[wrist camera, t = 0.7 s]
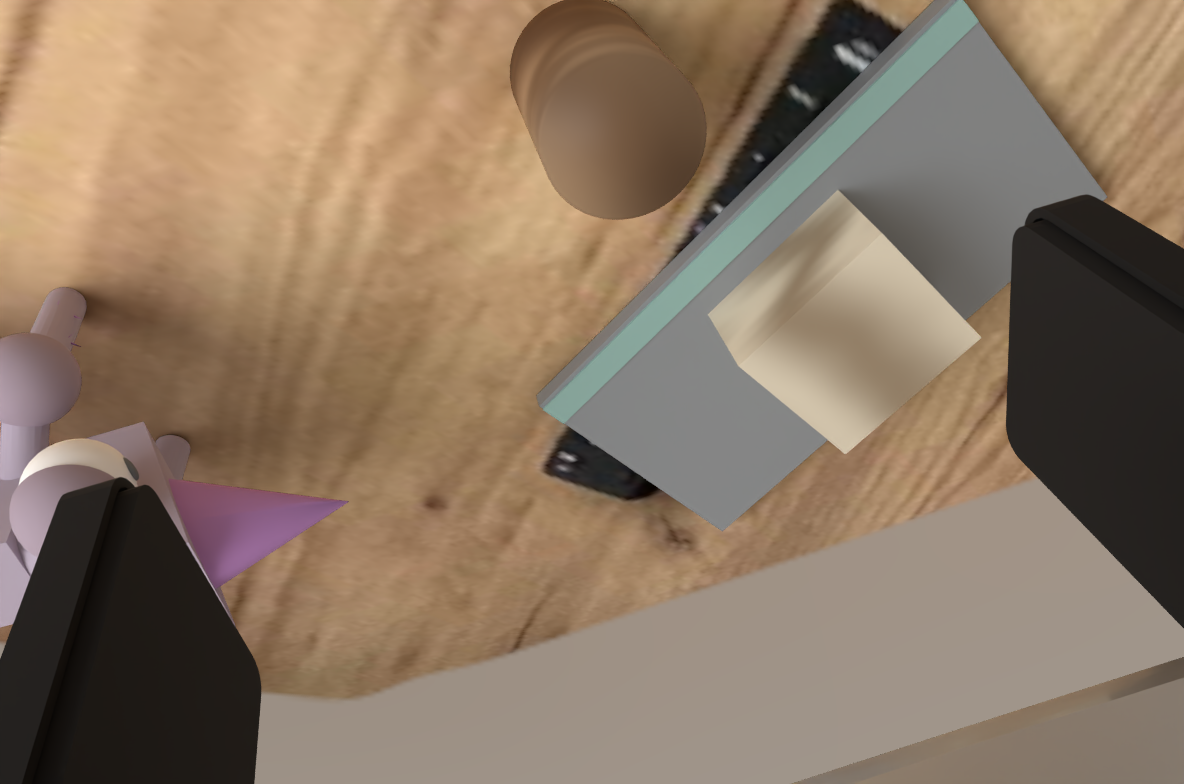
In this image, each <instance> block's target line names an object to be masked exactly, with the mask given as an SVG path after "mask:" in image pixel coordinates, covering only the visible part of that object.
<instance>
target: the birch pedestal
mask: <svg viewBox="0 0 1184 784" xmlns="http://www.w3.org/2000/svg"><path fill="white" fill-rule="evenodd" d="M708 316H709V317H710V319H711V321H712V322H713V324H714V326H715V327H716V329H717V331H718V333H719V334H720V336H721V338H722V339H723V341H724V343H725V344H726V346H727V348H728V349H729V351H730V353H731V354H732V356H733V358H734V360H735V361H736V363H737V365H738V366H739V367H740V368H741V369H742V370H744V371H745V372H746V373H747V374H748V375H750V376H751V377H752V378H753V379H755V380H756V381H757V382H758V383H759V384H761V385H762V386H763V387H764V388H765V389H767V390H768V391H769V392H770V393H772V394H773V395H774V396H775V397H776V398H778V399H779V400H780V401H781V402H782V403H784V404H785V405H786V406H787V407H789V408H790V409H791V410H792V411H793V412H795V413H796V414H797V415H798V416H799V417H801V418H802V419H803V420H804V421H806V422H807V423H808V424H809V425H810V426H812V427H813V428H814V429H815V430H816V431H818V432H819V433H820V434H821V435H823V436H824V437H825V438H826V439H827V440H829V441H830V442H831V443H832V444H833V445H835V446H836V447H837V448H838V449H840V450H841V451H842V452H843V453H844V454H846V453H848V452H849V451H850V450H851V449H852V448H853V447H855V446H856V445H857V444H858V443H859V442H860V441H862V440H863V439H864V438H865V437H866V436H867V435H869V434H870V433H871V432H872V431H873V430H874V429H876V428H877V427H878V426H879V425H880V424H881V423H883V422H884V421H885V420H886V419H887V418H888V417H890V416H891V415H892V414H893V413H894V412H895V411H897V410H898V409H899V408H900V407H901V406H902V405H904V404H905V403H906V402H907V401H908V400H909V399H911V398H912V397H913V396H914V395H915V394H916V393H918V392H919V391H920V390H921V389H922V388H923V387H925V386H926V385H927V384H928V383H929V382H930V381H932V380H933V379H934V378H935V377H936V376H937V375H939V374H940V373H941V372H942V371H943V370H944V369H946V368H947V367H948V366H949V365H950V364H951V363H953V362H954V361H955V360H956V359H957V358H958V357H960V356H961V355H962V354H963V353H964V352H965V351H967V350H968V349H969V348H970V347H971V346H972V345H974V344H975V343H976V342H977V341H978V340H979V339H981V337H980V336H979V334H978V333H977V332H976V331H975V330H974V329H973V328H972V327H971V326H970V325H969V324H968V323H967V322H966V321H965V320H964V319H963V318H962V317H961V316H960V315H959V313H958V312H957V311H956V310H955V309H954V308H953V307H952V306H951V305H950V304H949V303H948V302H947V301H946V300H945V299H944V298H943V297H942V296H941V295H940V294H939V292H938V291H937V290H936V289H935V288H934V287H933V286H932V285H931V284H930V283H929V282H928V281H927V280H926V279H925V278H924V277H923V276H922V275H921V274H920V273H919V271H918V270H917V269H916V268H915V267H914V266H913V265H912V264H911V263H910V262H909V261H908V260H907V259H906V258H905V257H904V256H903V255H902V254H901V253H900V252H899V250H898V249H897V248H896V247H895V246H894V245H893V244H892V243H891V242H890V241H889V240H888V239H887V238H886V237H885V236H884V235H883V234H882V233H881V232H880V231H879V230H878V229H877V228H876V227H875V226H874V225H873V224H872V223H871V222H870V221H869V220H868V219H867V218H866V217H865V216H864V215H863V214H862V213H861V212H860V211H859V210H858V209H857V208H856V207H855V206H854V205H853V204H852V203H851V202H850V201H849V200H848V199H847V198H846V197H845V196H844V195H843V194H842V193H841V192H840V191H839V190H837V191H836V192H835V193H834V194H833V195H832V196H831V197H830V198H829V199H828V200H827V201H826V202H824V203H823V204H822V205H821V206H820V207H819V208H818V209H817V210H816V211H815V212H814V213H813V214H812V215H811V216H810V217H809V218H808V219H807V220H806V221H805V222H804V223H803V224H802V225H800V226H799V227H798V228H797V229H796V230H795V231H794V232H793V233H792V234H791V235H790V236H789V237H788V238H787V239H786V240H785V241H784V242H783V243H782V244H781V245H780V246H779V247H778V248H776V249H775V250H774V251H773V252H772V253H771V254H770V255H769V256H768V257H767V258H766V259H765V260H764V261H763V262H762V263H761V264H760V265H759V266H758V267H757V268H756V269H755V270H754V271H752V272H751V273H750V274H749V275H748V276H747V277H746V278H745V279H744V280H743V281H742V282H741V283H740V284H739V285H738V286H737V287H736V288H735V289H734V290H733V291H732V292H731V293H730V294H728V295H727V296H726V297H725V298H724V299H723V300H722V301H721V302H720V303H719V304H718V305H717V306H716V307H715V308H714V309H713V310H712V311H711V312H710V313H709V314H708Z"/></svg>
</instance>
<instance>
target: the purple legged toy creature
mask: <svg viewBox="0 0 1184 784" xmlns="http://www.w3.org/2000/svg"><path fill="white" fill-rule="evenodd" d="M86 309H87V305H86V301H85V299H84V297H83V296H82V295H81V294H80V293H79V292H78V291H76V290H74V289H71V288H67V287H60V288H57V289H54V290H53V291H51V292H50V293H49V294H48V295H47V297H46V299H45V301H44V303H43V305H42V307H41V309H40V312H39V314H38V316H37V318H36V320H35V322H34V325H33V327H32V329H31V331H30V333H18V334H12V335H9V336H6V337H3V338H1V339H0V422H1V437H0V627H3V626H7V625H11V624H13V623H14V620H15V618H16V615H17V612H18V610H19V607H20V604H21V601H22V599H23V596H24V593H25V591H26V588H27V585H28V582H29V580H30V577H31V574H32V572H33V569H34V566H35V563H36V561H37V558H38V555H39V553H40V550H41V547H42V544H43V542H44V539H45V536H46V534H47V531H48V528H49V525H50V523H51V520H52V517H53V515H54V512H55V509H56V506H57V504H58V501H59V500H60V498H61V496H62V495H63V494H65V493H67V492H70V491H74V490H77V489H81V488H84V487H87V486H91V485H94V484H98V483H101V482H105V481H108V480H111V479H115V478H118V477H123V478H126V479H128V480H129V481H130V482H131V483H132V484H133V485H134V486H135V487H138V486H141V485H149V486H150V487H151V488H152V489H154V491H155V492H156V494H157V495H158V497H159V498H160V500H161V502H162V503H163V505H164V507H165V508H166V510H167V512H168V513H169V515H170V517H171V519H172V520H173V522H174V524H175V525H176V527H177V529H178V530H179V532H180V534H181V536H182V537H183V539H184V541H185V542H186V544H187V546H188V547H189V549H190V551H191V552H192V554H193V556H194V558H195V559H196V561H197V563H198V564H199V566H200V568H201V569H202V571H203V573H204V574H205V576H206V578H207V580H208V581H209V583H210V585H211V586H212V588H213V590H214V591H215V593H216V595H217V596H218V598H219V600H220V602H221V603H222V605H223V607H224V608H225V610H226V612H227V613H228V615H229V617H230V619H231V620H232V622H233V624H234V621H233V618H232V616H231V613H230V611H229V608H228V606H227V603H226V601H225V598H224V595H223V593H222V590H221V588H220V586H221V585H223V584H224V583H226V582H227V581H229V580H230V579H232V578H233V577H235V576H237V575H238V574H240V573H241V572H243V571H244V570H246V569H247V568H249V567H250V566H252V565H253V564H255V563H256V562H258V561H259V560H261V559H262V558H264V557H265V556H267V555H268V554H270V553H271V552H273V551H275V550H276V549H278V548H279V547H281V546H282V545H284V544H285V543H287V542H288V541H290V540H291V539H293V538H294V537H296V536H297V535H299V534H300V533H302V532H303V531H305V530H306V529H308V528H309V527H311V526H313V525H314V524H316V523H317V522H319V521H320V520H322V519H323V518H325V517H326V516H328V515H329V514H331V513H332V512H334V511H335V510H337V509H338V508H340V507H341V506H343V505H344V504H346V503H348V502H349V501H341V500H334V499H326V498H318V497H310V496H302V495H294V494H286V493H278V492H270V491H262V490H255V489H247V488H239V487H231V486H223V485H215V484H207V483H199V482H191V481H183V480H182V479H183V475H184V471H185V468H186V464H187V461H188V457H189V454H190V450H191V449H190V445H189V443H188V442H187V441H186V440H185V439H183V438H181V437H178V436H175V435H165V436H162V437H159V438H158V439H157V440H156V442H155V441H154V440H153V438H152V436H151V434H150V432H149V430H148V429H147V427H146V425H145V423H144V422H140V423H137V424H133V425H130V426H127V427H123V428H120V429H116V430H113V431H109V432H106V433H102V434H99V435H95V436H92V437H88V438H85V439H70V440H64V441H61V442H57V443H55V444H53V445H51V446H49V429H50V423H53V422H55V421H57V420H58V419H60V418H61V417H63V416H64V415H65V414H66V413H67V412H69V411H70V409H71V408H72V407H73V406H74V404H75V402H76V401H77V399H78V397H79V394H80V390H81V385H82V377H81V371H80V367H79V365H78V362H77V360H76V359H75V357H74V356H73V354H72V353H71V350H72V347H73V345H76V344H74V342H75V339H76V337H77V334H78V331H79V329H80V326H81V323H82V321H83V320H84V319H83V318H84V315H85V312H86ZM76 346H79V345H76ZM80 347H81V346H80ZM234 625H235V624H234ZM235 627H236V626H235Z"/></svg>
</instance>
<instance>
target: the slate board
mask: <svg viewBox="0 0 1184 784" xmlns="http://www.w3.org/2000/svg"><path fill="white" fill-rule="evenodd" d="M837 190H839V191H840V192H841V193H842V194H843V195H844V196H845V197H846V198H847V199H848V200H849V201H850V202H851V203H852V204H853V205H854V206H855V207H856V208H857V209H858V210H859V211H860V212H861V213H862V214H863V215H864V216H865V217H866V218H867V219H868V220H869V221H870V222H871V223H872V224H873V225H874V226H875V227H876V228H877V229H878V230H879V231H880V232H881V233H882V234H883V235H884V236H885V237H886V238H887V239H888V240H889V241H890V242H891V243H892V244H893V245H894V246H895V247H896V248H897V249H898V250H899V252H900V253H901V254H902V255H903V256H904V257H905V258H906V259H907V260H908V261H909V262H910V263H911V264H912V265H913V266H914V267H915V268H916V269H917V270H918V271H919V273H920V274H921V275H922V276H923V277H924V278H925V279H926V280H927V281H928V282H929V283H930V284H931V285H932V286H933V287H934V288H935V289H936V290H937V291H938V292H939V294H940V295H941V296H942V297H943V298H944V299H945V300H946V301H947V302H948V303H949V304H950V305H951V306H952V307H953V308H954V309H955V310H956V311H957V312H958V313H959V315H960V316H961V317H962V318H963V319H964V320H966V319H968V318H969V317H970V316H971V315H972V314H973V313H975V312H976V311H977V310H978V309H979V308H980V307H981V306H983V305H984V304H985V303H986V302H987V301H988V300H990V299H991V298H992V297H993V296H994V295H995V294H996V293H998V292H999V291H1000V290H1001V289H1002V288H1003V287H1004V286H1006V285H1007V284H1008V283H1009V282H1010V281H1011V263H1012V241H1013V235H1014V233H1015V231H1016V230H1017V229H1018V228H1019V227H1022V226H1024V225H1025V220H1026V218H1027V216H1028V214H1029V213H1030V212H1031V211H1032V210H1033V209H1035V208H1039V207H1042V206H1046V205H1049V204H1052V203H1056V202H1059V201H1063V200H1066V199H1069V198H1073V197H1076V196H1080V195H1085V194H1088V195H1091V196H1094V197H1096V198H1098V199H1100V200H1101V201H1104V200H1105V199H1106V198H1107V196H1106V194H1105V193H1104V192H1103V190H1102V189H1101V188H1100V186H1099V185H1098V183H1097V182H1096V181H1095V179H1094V178H1093V177H1092V175H1091V174H1090V173H1089V171H1088V170H1087V168H1086V167H1085V166H1084V164H1083V163H1082V162H1081V160H1080V159H1079V158H1078V156H1077V155H1076V154H1075V152H1074V151H1073V149H1072V148H1071V147H1070V145H1069V144H1068V143H1067V141H1066V140H1065V139H1064V137H1063V136H1062V135H1061V133H1060V132H1059V130H1058V129H1057V128H1056V126H1055V125H1054V124H1053V122H1052V121H1051V120H1050V118H1049V117H1048V115H1047V114H1046V113H1045V111H1044V110H1043V109H1042V107H1041V106H1040V105H1039V103H1038V102H1037V101H1036V99H1035V98H1034V96H1033V95H1032V94H1031V92H1030V91H1029V90H1028V88H1027V87H1026V86H1025V84H1024V83H1023V81H1022V80H1021V79H1020V77H1019V76H1018V75H1017V73H1016V72H1015V71H1014V69H1013V68H1012V67H1011V65H1010V64H1009V62H1008V61H1007V60H1006V58H1005V57H1004V56H1003V54H1002V53H1001V52H1000V50H999V49H998V48H997V46H996V45H995V43H994V42H993V41H992V39H991V38H990V37H989V35H988V34H987V33H986V31H985V30H984V28H983V27H982V26H981V24H980V23H979V20H978V19H977V18H976V16H975V15H974V14H973V12H972V11H971V10H970V8H969V7H968V6H967V4H966V3H965V1H964V0H934V1H933V2H932V3H931V4H930V5H929V6H928V7H927V8H926V9H925V10H924V11H923V12H922V13H921V14H920V15H919V16H918V17H917V18H916V19H915V20H914V21H913V22H912V23H911V24H910V25H909V26H908V27H907V28H906V29H905V30H904V31H903V32H902V33H901V34H900V35H899V36H898V37H897V38H896V39H895V40H894V41H893V42H892V43H891V44H890V45H889V46H888V47H887V48H886V49H885V50H884V51H883V52H882V53H881V54H880V55H879V56H878V57H877V58H876V59H875V60H874V61H873V62H872V63H871V64H870V65H869V66H868V67H867V68H866V69H865V70H864V71H863V72H862V73H861V74H860V75H859V76H858V77H857V78H856V79H855V80H854V81H853V82H852V83H851V84H850V85H849V86H848V87H847V88H846V89H845V90H844V91H843V92H842V93H841V94H840V95H839V96H838V97H837V98H836V99H835V100H834V101H833V102H832V103H831V104H829V105H828V106H827V107H826V108H825V109H824V110H823V111H822V112H821V113H820V114H819V115H818V116H817V117H816V118H815V119H814V120H813V121H812V122H811V123H810V124H809V125H808V126H807V127H806V128H805V129H804V130H803V131H802V132H801V133H800V134H799V135H798V136H797V137H796V138H795V139H794V140H793V141H792V142H791V143H790V144H789V145H788V146H787V147H786V148H785V149H784V150H783V151H782V152H781V153H780V154H779V155H778V156H777V157H776V158H775V159H774V160H773V161H772V162H771V163H770V164H769V165H768V166H767V167H766V168H765V169H764V170H763V171H762V172H761V173H760V174H759V175H758V176H757V177H756V178H755V179H754V180H753V181H752V182H751V183H750V184H749V185H748V186H747V187H746V188H745V189H744V190H743V191H742V192H741V193H740V194H739V195H738V196H737V197H736V198H735V199H734V200H733V201H732V202H731V203H730V204H729V205H728V206H727V207H726V208H725V209H724V210H723V211H722V212H721V213H720V214H719V215H718V216H717V217H716V218H715V219H714V220H713V221H712V222H711V223H710V224H709V225H708V226H707V227H706V228H705V229H704V230H703V231H702V232H701V233H700V234H699V235H698V236H697V237H696V238H695V239H694V240H693V241H692V242H691V243H690V244H689V245H688V246H687V247H685V248H684V249H683V250H682V251H681V252H680V253H679V254H678V255H677V256H676V257H675V258H674V259H673V260H672V261H671V262H670V263H669V264H668V265H667V266H666V267H665V268H664V269H663V270H662V271H661V272H660V273H659V274H658V275H657V276H656V277H655V278H654V279H653V280H652V281H651V282H650V283H649V284H648V285H647V286H646V287H645V288H644V289H643V290H642V291H641V292H640V293H639V294H638V295H637V296H636V297H635V298H634V299H633V300H632V301H631V302H630V303H629V304H628V305H627V306H626V307H625V308H624V309H623V310H622V311H621V312H620V313H619V314H618V315H617V316H616V317H615V318H614V319H613V320H612V321H611V322H610V323H609V324H608V325H607V326H606V327H605V328H604V329H603V330H602V331H601V332H600V333H599V334H598V335H597V336H596V337H595V338H594V339H593V340H592V341H591V342H590V343H589V344H588V345H587V346H586V347H585V348H584V349H583V350H582V351H581V352H580V353H579V354H578V355H577V356H576V357H575V358H574V359H573V360H572V361H571V362H570V363H569V364H568V365H567V366H566V367H565V368H564V369H563V370H562V371H561V372H560V373H559V374H558V375H557V376H556V377H555V378H554V379H553V380H552V381H551V382H550V383H549V384H548V385H547V386H546V387H545V388H544V389H543V390H541V391H540V392H539V393H538V394H537V395H536V396H537V400H538V404H539V406H540V407H541V408H542V409H543V410H544V411H545V412H547V413H548V414H550V415H551V416H553V417H554V418H556V419H557V420H558V421H560V422H561V423H563V424H566V425H567V426H569V427H570V428H572V429H573V430H575V431H576V432H578V433H579V434H581V435H582V436H583V437H585V438H586V439H588V440H589V441H591V442H592V443H594V444H595V445H597V446H598V447H600V448H601V449H603V450H604V451H605V452H607V453H608V454H610V455H611V456H613V457H614V458H616V459H617V460H619V461H620V462H622V463H623V464H624V465H626V466H627V467H629V468H630V469H632V470H633V471H635V472H636V473H638V474H639V475H641V476H642V477H643V478H645V479H646V480H648V481H649V482H651V483H652V484H654V485H655V486H657V487H658V488H660V489H661V490H663V491H664V492H665V493H667V494H668V495H670V496H671V497H673V498H674V499H676V500H677V501H679V502H680V503H682V504H683V505H684V506H686V507H687V508H689V509H690V510H692V511H693V512H695V513H696V514H698V515H699V516H701V517H702V518H704V519H705V520H706V521H708V522H709V523H711V524H712V525H714V526H715V527H717V528H718V529H720V530H721V531H724V530H725V529H726V528H727V527H728V526H729V525H730V524H732V523H733V522H734V521H735V520H736V519H737V518H738V517H740V516H741V515H742V514H743V513H744V512H745V511H747V510H748V509H749V508H750V507H751V506H752V505H753V504H755V503H756V502H757V501H758V500H759V499H760V498H762V497H763V496H764V495H765V494H766V493H767V492H768V491H770V490H771V489H772V488H773V487H774V486H775V485H776V484H778V483H779V482H780V481H781V480H782V479H783V478H785V477H786V476H787V475H788V474H789V473H790V472H791V471H793V470H794V469H795V468H796V467H797V466H798V465H800V464H801V463H802V462H803V461H804V460H805V459H806V458H808V457H809V456H810V455H811V454H812V453H813V452H814V451H816V450H817V449H818V448H819V447H820V446H821V445H823V444H824V443H825V442H826V441H827V439H826V438H825V437H824V436H823V435H821V434H820V433H819V432H818V431H816V430H815V429H814V428H813V427H812V426H810V425H809V424H808V423H807V422H806V421H804V420H803V419H802V418H801V417H799V416H798V415H797V414H796V413H795V412H793V411H792V410H791V409H790V408H789V407H787V406H786V405H785V404H784V403H782V402H781V401H780V400H779V399H778V398H776V397H775V396H774V395H773V394H772V393H770V392H769V391H768V390H767V389H765V388H764V387H763V386H762V385H761V384H759V383H758V382H757V381H756V380H755V379H753V378H752V377H751V376H750V375H748V374H747V373H746V372H745V371H744V370H742V369H741V368H740V367H739V366H738V365H737V363H736V361H735V360H734V358H733V356H732V354H731V353H730V351H729V349H728V348H727V346H726V344H725V343H724V341H723V339H722V338H721V336H720V334H719V333H718V331H717V329H716V327H715V326H714V324H713V322H712V321H711V319H710V317H709V316H708V314H709V313H710V312H711V311H712V310H713V309H714V308H715V307H716V306H717V305H718V304H719V303H720V302H721V301H722V300H723V299H724V298H725V297H726V296H727V295H728V294H730V293H731V292H732V291H733V290H734V289H735V288H736V287H737V286H738V285H739V284H740V283H741V282H742V281H743V280H744V279H745V278H746V277H747V276H748V275H749V274H750V273H751V272H752V271H754V270H755V269H756V268H757V267H758V266H759V265H760V264H761V263H762V262H763V261H764V260H765V259H766V258H767V257H768V256H769V255H770V254H771V253H772V252H773V251H774V250H775V249H776V248H778V247H779V246H780V245H781V244H782V243H783V242H784V241H785V240H786V239H787V238H788V237H789V236H790V235H791V234H792V233H793V232H794V231H795V230H796V229H797V228H798V227H799V226H800V225H802V224H803V223H804V222H805V221H806V220H807V219H808V218H809V217H810V216H811V215H812V214H813V213H814V212H815V211H816V210H817V209H818V208H819V207H820V206H821V205H822V204H823V203H824V202H826V201H827V200H828V199H829V198H830V197H831V196H832V195H833V194H834V193H835V192H836V191H837Z"/></svg>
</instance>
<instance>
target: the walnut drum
mask: <svg viewBox="0 0 1184 784" xmlns="http://www.w3.org/2000/svg"><path fill="white" fill-rule="evenodd" d="M510 81H511V88H512V91H513V95H514V98H515V100H516V103H517V105H518V107H519V110H520V112H521V115H522V117H523V119H524V122H525V124H526V126H527V129H528V131H529V133H530V136H531V138H532V140H533V143H534V145H535V147H536V150H537V152H538V154H539V157H540V159H541V161H542V164H543V166H544V169H545V171H546V173H547V176H548V178H549V180H550V182H551V183H552V185H553V187H554V188H555V189H556V191H557V192H558V193H559V195H560V196H561V197H562V198H563V199H564V200H565V201H566V202H568V203H569V204H570V205H572V206H573V207H574V208H576V209H578V210H580V211H582V212H583V213H586V214H589V215H591V216H594V217H598V218H603V219H612V220H620V219H630V218H635V217H639V216H643V215H646V214H648V213H650V212H653V211H655V210H657V209H659V208H660V207H662V206H664V205H665V204H667V203H668V202H670V201H671V200H672V199H673V198H675V197H676V196H677V195H678V194H679V193H680V192H681V191H682V190H683V189H684V188H685V186H686V185H687V184H688V183H689V181H690V180H691V178H692V177H693V175H694V174H695V172H696V170H697V168H698V166H699V164H700V161H701V158H702V156H703V152H704V148H705V142H706V118H705V112H704V109H703V105H702V103H701V100H700V98H699V96H698V94H697V92H696V90H695V89H694V87H693V86H692V84H691V83H690V82H689V81H688V80H687V79H686V77H685V76H684V75H683V74H682V73H681V72H680V71H679V70H678V69H677V67H676V66H675V65H674V64H673V63H672V62H671V61H670V60H669V59H668V58H667V57H666V55H665V54H664V53H663V52H662V51H661V50H660V49H659V48H658V47H657V46H656V44H655V43H654V42H653V41H652V40H651V39H650V38H649V37H648V36H647V35H646V34H645V32H644V31H643V30H642V29H641V28H640V27H639V26H638V25H637V24H636V23H635V21H634V20H633V19H632V18H631V17H630V16H629V15H628V14H626V13H625V12H624V11H623V10H621V9H620V8H618V7H617V6H615V5H613V4H611V3H609V2H606V1H603V0H564V1H560V2H558V3H556V4H553V5H551V6H549V7H548V8H546V9H544V10H543V11H541V12H540V13H539V14H538V15H536V16H535V17H534V18H533V19H532V20H531V21H530V22H529V23H528V25H527V26H526V27H525V29H524V30H523V31H522V33H521V35H520V36H519V38H518V40H517V43H516V45H515V47H514V50H513V54H512V58H511V65H510Z"/></svg>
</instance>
